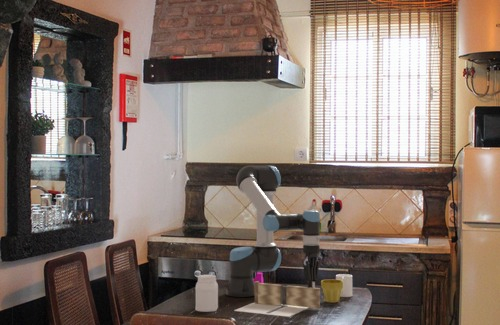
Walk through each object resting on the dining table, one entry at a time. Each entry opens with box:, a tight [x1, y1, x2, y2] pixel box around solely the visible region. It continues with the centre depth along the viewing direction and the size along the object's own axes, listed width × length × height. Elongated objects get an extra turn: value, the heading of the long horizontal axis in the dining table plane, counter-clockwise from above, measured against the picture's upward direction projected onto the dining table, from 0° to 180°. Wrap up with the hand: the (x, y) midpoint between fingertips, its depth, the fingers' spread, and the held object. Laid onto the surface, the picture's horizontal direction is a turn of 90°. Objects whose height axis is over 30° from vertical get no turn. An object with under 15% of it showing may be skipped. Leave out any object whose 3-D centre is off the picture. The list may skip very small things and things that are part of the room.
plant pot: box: [320, 278, 343, 303], centre depth 339 cm, size 10×10×10 cm
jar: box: [194, 274, 219, 313], centre depth 321 cm, size 12×10×15 cm
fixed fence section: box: [254, 281, 283, 306], centre depth 330 cm, size 14×2×10 cm, turn 62°
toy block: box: [253, 272, 264, 284], centre depth 382 cm, size 15×6×8 cm, turn 80°
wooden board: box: [281, 284, 322, 309], centre depth 323 cm, size 19×2×9 cm, turn 62°
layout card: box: [234, 301, 310, 318], centre depth 321 cm, size 27×22×1 cm
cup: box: [335, 273, 353, 298], centre depth 352 cm, size 8×12×10 cm
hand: (311, 295), depth 324 cm, fingers closed
